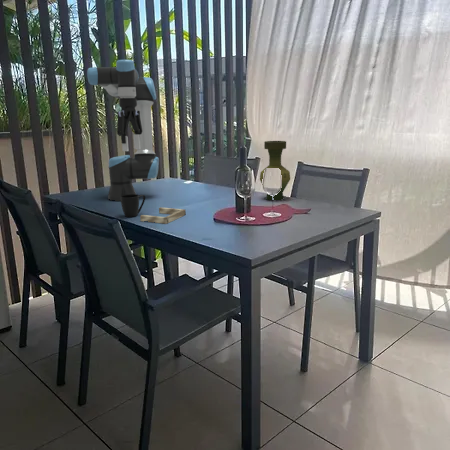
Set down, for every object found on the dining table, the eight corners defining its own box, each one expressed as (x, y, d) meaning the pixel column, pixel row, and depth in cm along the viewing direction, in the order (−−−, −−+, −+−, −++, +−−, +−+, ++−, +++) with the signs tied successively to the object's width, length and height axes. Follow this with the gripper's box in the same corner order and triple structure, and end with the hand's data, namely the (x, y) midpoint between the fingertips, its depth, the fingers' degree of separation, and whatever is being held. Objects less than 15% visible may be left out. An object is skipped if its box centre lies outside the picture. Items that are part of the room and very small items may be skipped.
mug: (150, 214, 210) (149, 194, 207) (127, 219, 203) (125, 198, 200) (141, 211, 216) (140, 192, 214) (119, 215, 209) (117, 195, 206)
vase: (294, 196, 241) (295, 140, 233) (285, 203, 227) (286, 143, 219) (265, 194, 248) (265, 140, 240) (254, 200, 234) (254, 142, 226)
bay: (140, 221, 198) (140, 215, 198) (160, 212, 213) (160, 207, 213) (166, 223, 193) (166, 218, 192) (185, 214, 208) (185, 209, 207)
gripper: (120, 97, 184) (124, 152, 190) (148, 97, 203) (151, 147, 209) (105, 97, 187) (110, 152, 193) (134, 97, 206) (138, 147, 212)
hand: (131, 149), depth 201 cm, fingers open, 8 cm apart
